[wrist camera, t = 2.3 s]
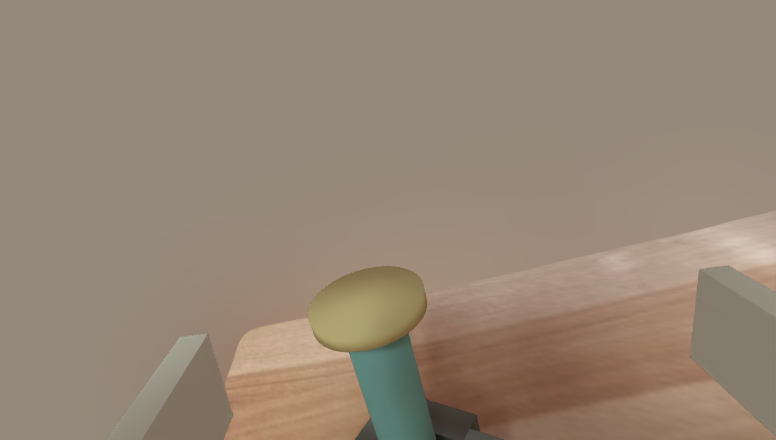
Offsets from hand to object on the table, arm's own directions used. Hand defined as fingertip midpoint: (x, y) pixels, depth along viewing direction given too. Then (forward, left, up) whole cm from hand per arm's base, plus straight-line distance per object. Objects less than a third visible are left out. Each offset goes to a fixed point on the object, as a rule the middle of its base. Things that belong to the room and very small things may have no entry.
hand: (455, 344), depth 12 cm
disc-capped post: (-11, -13, -28) cm, 32 cm away
